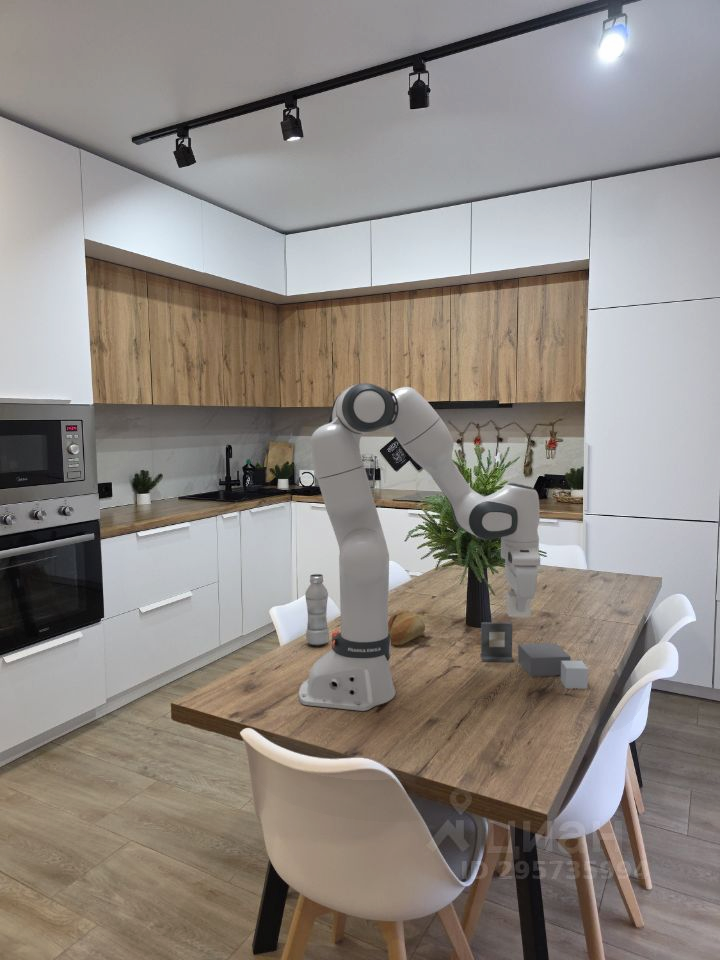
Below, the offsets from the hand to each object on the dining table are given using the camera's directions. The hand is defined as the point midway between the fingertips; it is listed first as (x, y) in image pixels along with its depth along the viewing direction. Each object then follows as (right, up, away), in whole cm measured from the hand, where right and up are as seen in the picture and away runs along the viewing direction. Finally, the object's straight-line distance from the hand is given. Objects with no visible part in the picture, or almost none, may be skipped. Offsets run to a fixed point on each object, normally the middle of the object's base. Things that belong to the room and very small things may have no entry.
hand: (518, 607), depth 158 cm
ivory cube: (0, -2, 0) cm, 2 cm away
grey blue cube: (+13, -19, -1) cm, 23 cm away
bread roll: (-25, -16, +32) cm, 44 cm away
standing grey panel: (-2, -17, +16) cm, 23 cm away
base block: (+9, -18, +9) cm, 22 cm away
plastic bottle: (-50, -16, +28) cm, 60 cm away
